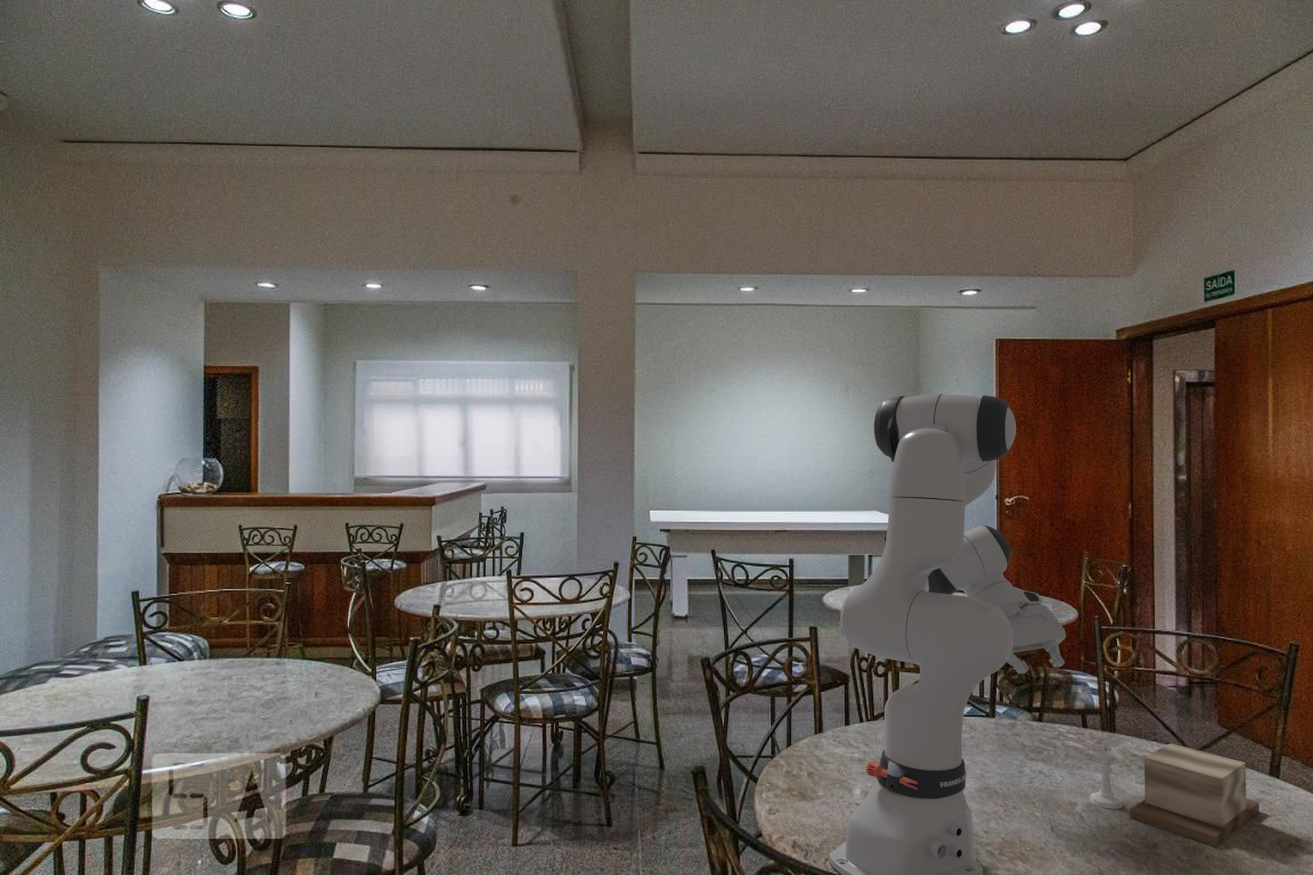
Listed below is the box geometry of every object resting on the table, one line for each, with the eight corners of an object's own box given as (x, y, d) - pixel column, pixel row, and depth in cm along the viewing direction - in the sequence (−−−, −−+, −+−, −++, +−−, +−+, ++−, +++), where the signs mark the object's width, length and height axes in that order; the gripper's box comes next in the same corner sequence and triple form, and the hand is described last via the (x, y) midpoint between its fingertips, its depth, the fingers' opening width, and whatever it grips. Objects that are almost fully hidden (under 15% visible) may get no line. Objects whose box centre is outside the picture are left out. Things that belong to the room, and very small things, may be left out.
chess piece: (1127, 810, 132) (1126, 750, 132) (1095, 807, 133) (1094, 747, 133) (1116, 797, 137) (1115, 739, 137) (1085, 795, 138) (1085, 737, 138)
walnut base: (1215, 846, 120) (1214, 787, 120) (1130, 817, 129) (1129, 762, 129) (1259, 811, 132) (1258, 757, 132) (1178, 786, 141) (1177, 736, 141)
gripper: (968, 602, 150) (1011, 666, 141) (1044, 593, 158) (1089, 653, 149) (951, 620, 154) (992, 684, 145) (1026, 611, 162) (1069, 670, 153)
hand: (1042, 668), depth 147 cm, fingers open, 8 cm apart
